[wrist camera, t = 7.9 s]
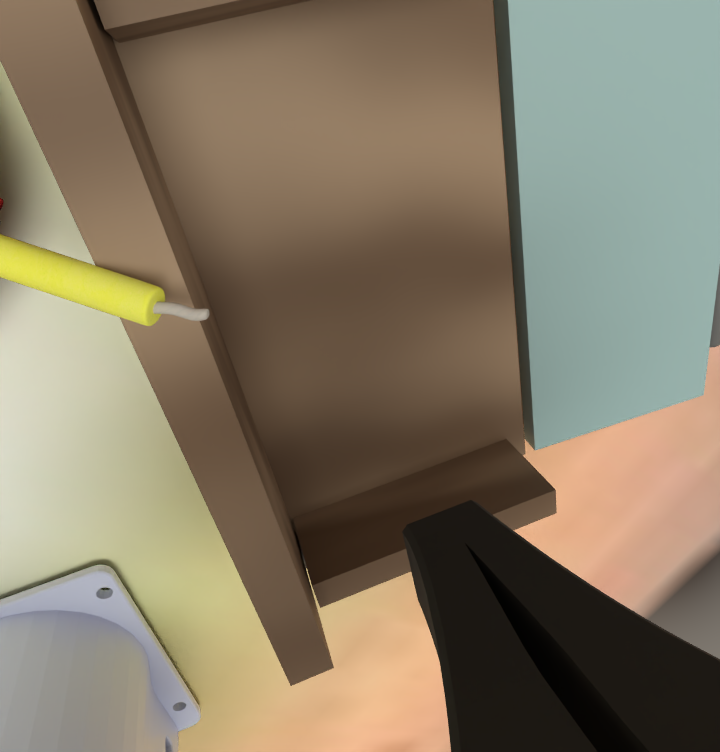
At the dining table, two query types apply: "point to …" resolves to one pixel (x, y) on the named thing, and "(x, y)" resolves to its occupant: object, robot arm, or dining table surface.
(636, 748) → the robot arm
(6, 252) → the cupcake
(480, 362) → the cart bed
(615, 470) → the dining table surface
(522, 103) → the panel
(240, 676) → the dining table surface
